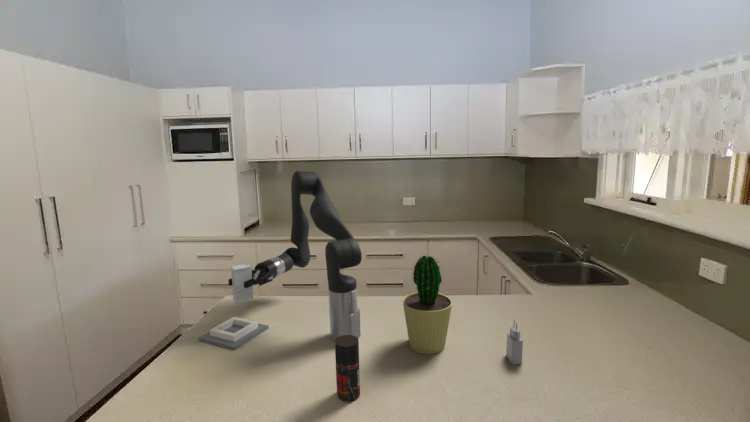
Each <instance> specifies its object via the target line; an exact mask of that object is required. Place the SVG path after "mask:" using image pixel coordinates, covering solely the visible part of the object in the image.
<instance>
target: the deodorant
mask: <svg viewBox="0 0 750 422" xmlns="http://www.w3.org/2000/svg"><path fill="white" fill-rule="evenodd" d="M359 341H360V340H359V337H358V338H357V337H356V336H353V335H343V336H340V337H338V338H336V339H335V342H334V355H335V374H336V375H335V379H336V397H337V399H338V400H339V401H341V402H343V403H351V402H355V401H356V400H358V399H359V398H360V397H361V381H360V380H361V378H360V375H361V374H360V349H359V346H360V345H359V344H360V343H359Z"/></svg>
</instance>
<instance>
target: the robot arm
mask: <svg viewBox="0 0 750 422" xmlns="http://www.w3.org/2000/svg"><path fill="white" fill-rule="evenodd" d="M290 187H291V189H290V195H291V217H292V218H291V231H290V242H291V243H292V244H293V245H294V246H296V247H289V248H287V249H285V251H283V252H282V253H281V254H280V255H277V256H275V257H271V258H268V259H266V260H263V261H260V262H258V263H257V264H256V265H255V267H254V268H253V269H252V268H251V271H252V279H250V280H248V281H245V282H244V288H248V287H251V286H252V287H253V286H257V285H258V286H261V287H262V286H263V285H265V284H268V283H271V282H273V281H274V279H276V278H277V277H280V276H281V275H283V274H285V273H287V272H289V271H290V270H292V269H293V267H294V266H295V267H298V268H306V267H307V266H308V265H309V264H310V261H311V251H310V245H309V231H310V222H309V219H308V217H307V214H306V212H305V211H304V209H303V206H302V202H301V196H302V195H311V196H312V197H314V199H313V201H312V203H311V205H310V208H309V214H310V217H311V219H312V221H313V223H314V225H315V227H316V228H317V229H318V230H319V231H320V232H322V233H324V234H325V235H327V236H329V237H331V238H333V239H335V240H333V241H332V240H331V241H328V242H327V243H326V245H325V250H324V251H325V262H326V263H325V264H326V275H327V285H328V303H329V304H328V306H329V311H328V312H329V328H330V329H329V330H330V331H329V332H330V339H331V341H333V342H334V343H335V339H336V338H338V337H340V336H343V335H353V336H356V337H357V338H358V339H359V338H360V336H361V309H360V308H358V289H357V288H358V286H357V285H358V283H357V279H356V277H353V276H352V275H347V274H342V273H341V270H342V269H343V270H344V269H349V268H353V267H356V266H358V265H360V264H361V263H362V258H363V254H362V250H361V247H360V245H359V243H358V242H357V239H356V238H355V236H354V235H353V234H352V233H351V232H350V230H349V229H348V228H347V226H346V225H345V223H344V222H343V221H344V220H343V219H342V218H341V216H340V213H339V212H338V210H337V208H336V206H335V205H334V203H333V201H332V200H331V198H330V196H329V195H328V194H329V193H328V192H327V190H326V188H325V185H324V182H323V180H322V177H321V176H320V174H319V173H317V172H316V171H305V170H296V171H294V172H293V174H292V177H291V184H290ZM227 281H228V285H229V286H232V277H230V278H228V280H227Z"/></svg>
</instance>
